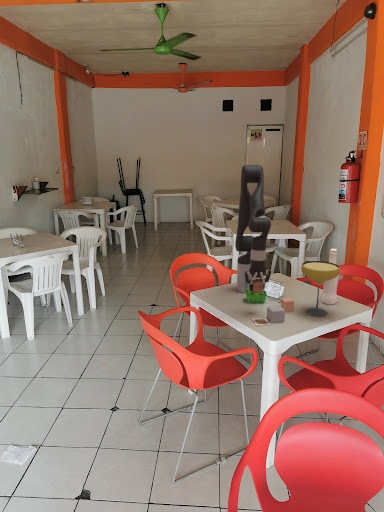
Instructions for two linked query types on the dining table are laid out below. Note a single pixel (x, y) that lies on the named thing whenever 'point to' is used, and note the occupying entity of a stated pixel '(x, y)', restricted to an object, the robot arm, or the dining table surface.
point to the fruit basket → (255, 297)
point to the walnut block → (258, 286)
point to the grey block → (275, 314)
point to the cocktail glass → (319, 279)
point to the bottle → (330, 283)
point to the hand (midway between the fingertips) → (256, 290)
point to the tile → (261, 322)
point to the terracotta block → (287, 304)
